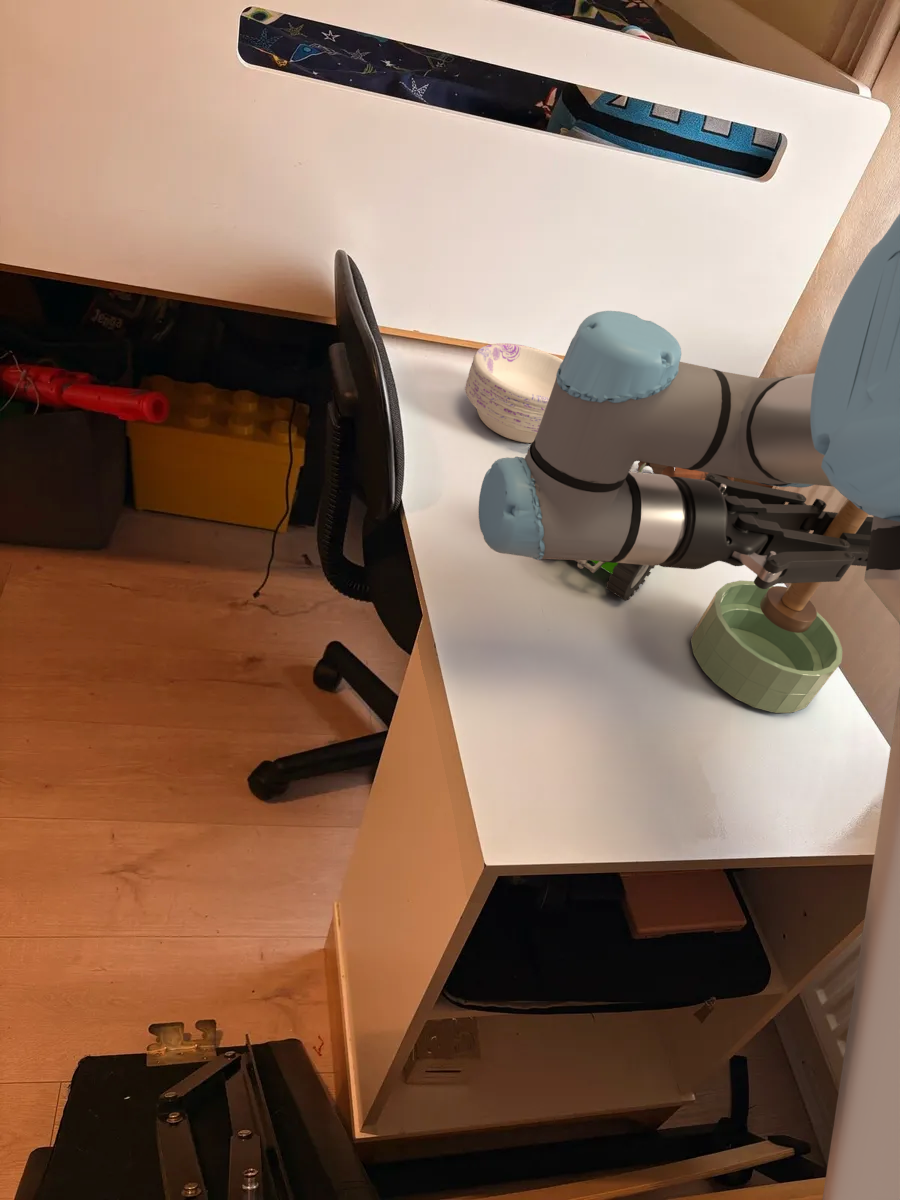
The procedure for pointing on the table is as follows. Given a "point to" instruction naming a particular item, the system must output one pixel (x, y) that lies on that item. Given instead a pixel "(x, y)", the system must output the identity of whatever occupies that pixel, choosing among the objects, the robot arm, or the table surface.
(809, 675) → the bowl
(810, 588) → the brown rod with base
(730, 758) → the table surface
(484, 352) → the paper bowls
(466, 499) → the table surface
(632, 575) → the toy tractor
